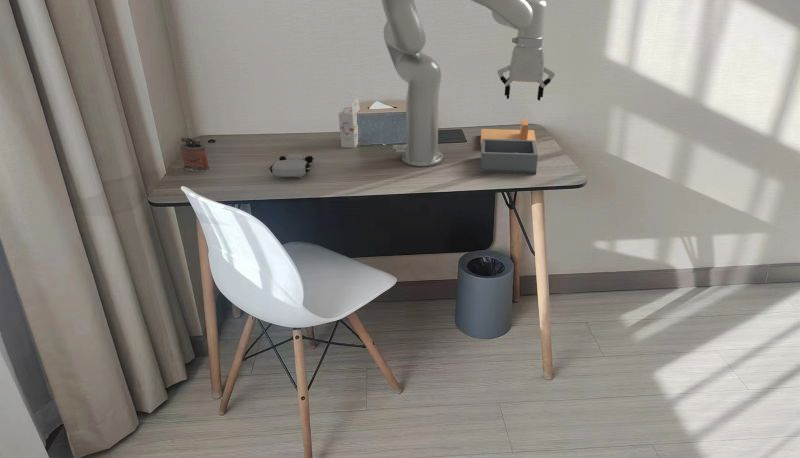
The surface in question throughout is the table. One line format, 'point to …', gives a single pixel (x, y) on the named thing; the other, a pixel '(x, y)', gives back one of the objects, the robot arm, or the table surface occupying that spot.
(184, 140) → the lighter
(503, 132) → the lid
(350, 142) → the ink cartridge box
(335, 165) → the table surface
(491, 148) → the tub
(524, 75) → the robot arm
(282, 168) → the robot toy
